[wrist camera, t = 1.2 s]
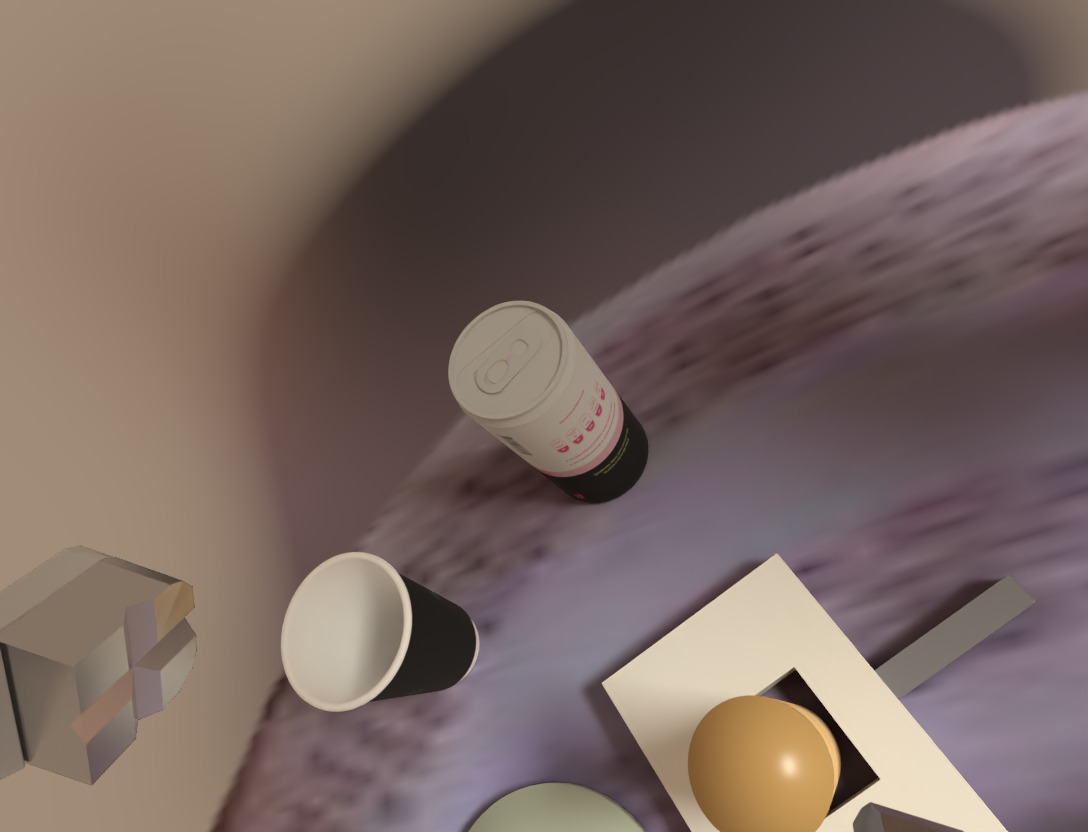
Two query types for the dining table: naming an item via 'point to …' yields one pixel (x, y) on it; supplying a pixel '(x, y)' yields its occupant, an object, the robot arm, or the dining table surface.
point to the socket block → (832, 674)
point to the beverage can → (547, 400)
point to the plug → (763, 766)
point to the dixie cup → (371, 635)
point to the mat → (556, 811)
